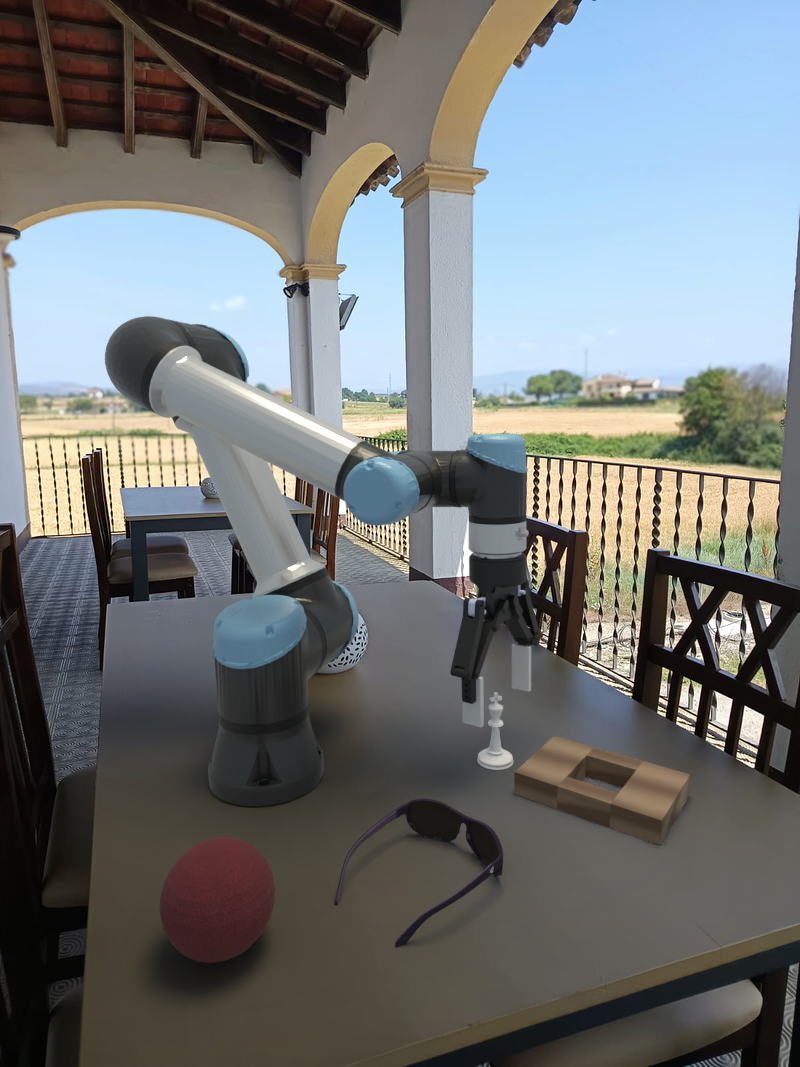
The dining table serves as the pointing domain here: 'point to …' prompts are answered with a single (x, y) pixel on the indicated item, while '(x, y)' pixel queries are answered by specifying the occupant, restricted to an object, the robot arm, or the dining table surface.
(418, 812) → the sunglasses
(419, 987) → the dining table surface
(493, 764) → the chess piece
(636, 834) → the socket plate
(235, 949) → the decorative ball
